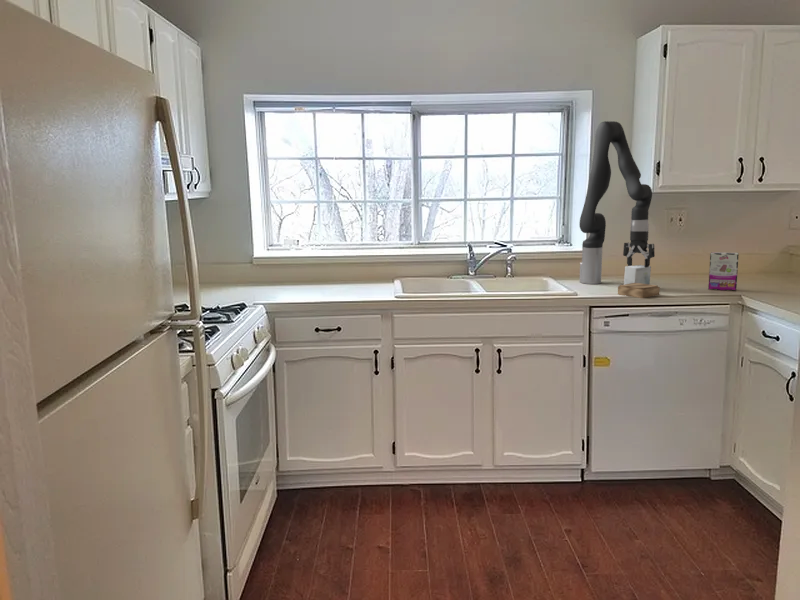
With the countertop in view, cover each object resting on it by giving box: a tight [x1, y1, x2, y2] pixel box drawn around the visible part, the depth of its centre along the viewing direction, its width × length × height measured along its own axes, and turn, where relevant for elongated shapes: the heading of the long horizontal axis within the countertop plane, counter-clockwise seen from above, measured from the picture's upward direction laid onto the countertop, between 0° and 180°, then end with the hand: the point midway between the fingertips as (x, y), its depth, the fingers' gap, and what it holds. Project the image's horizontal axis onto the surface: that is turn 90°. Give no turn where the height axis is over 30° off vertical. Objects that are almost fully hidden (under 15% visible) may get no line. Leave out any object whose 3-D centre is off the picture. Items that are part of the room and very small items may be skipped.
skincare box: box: [623, 264, 652, 285], centre depth 283 cm, size 10×6×10 cm, turn 122°
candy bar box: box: [708, 251, 740, 291], centre depth 277 cm, size 11×5×16 cm, turn 62°
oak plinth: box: [617, 283, 661, 299], centre depth 269 cm, size 12×12×4 cm
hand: (638, 266), depth 281 cm, fingers open, 8 cm apart
